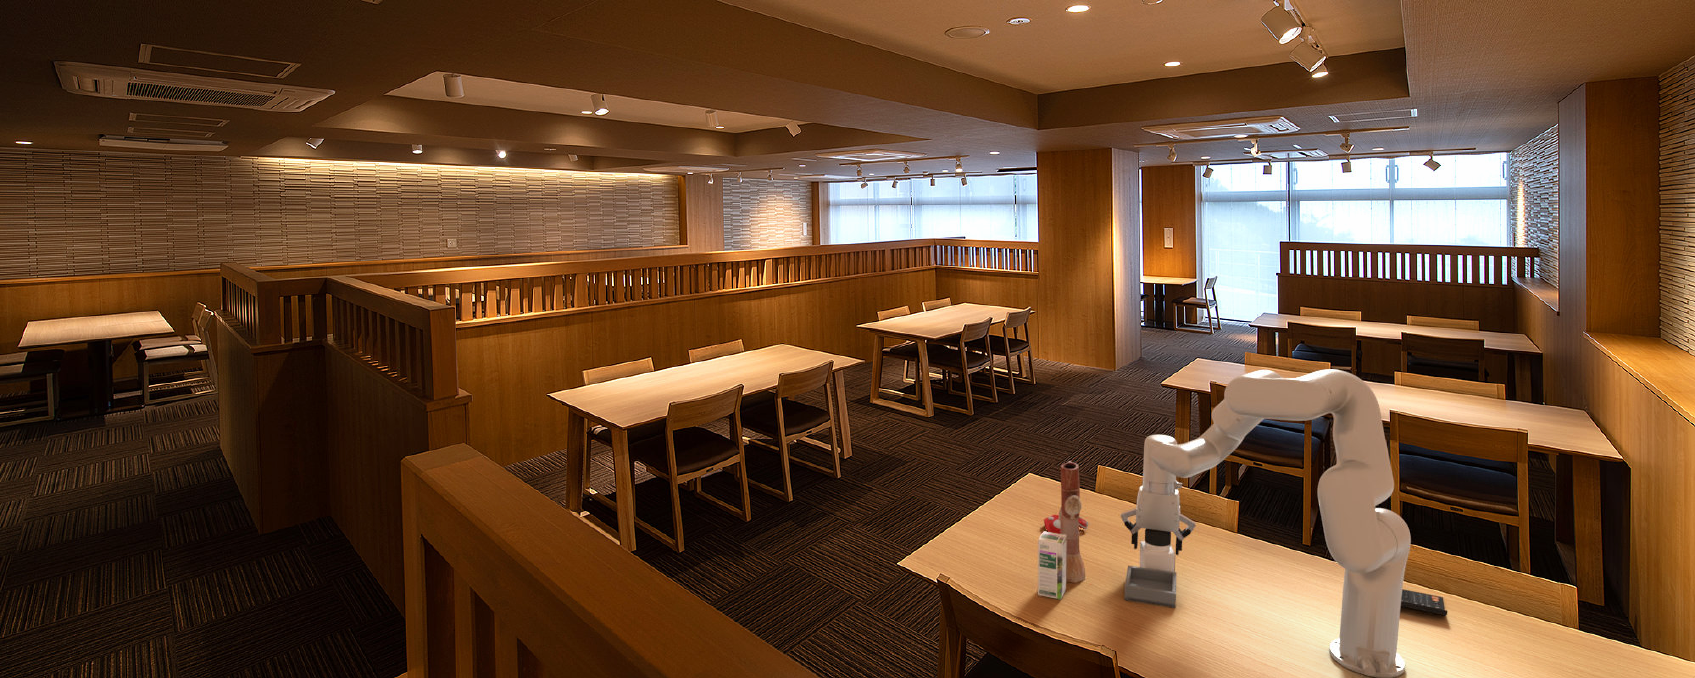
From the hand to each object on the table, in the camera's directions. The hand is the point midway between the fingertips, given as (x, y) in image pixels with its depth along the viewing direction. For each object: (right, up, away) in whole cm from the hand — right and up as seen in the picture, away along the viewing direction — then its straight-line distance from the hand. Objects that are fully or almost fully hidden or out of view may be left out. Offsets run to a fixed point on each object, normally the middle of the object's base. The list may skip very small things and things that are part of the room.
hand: (1156, 549), depth 192 cm
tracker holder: (-15, -3, +28) cm, 32 cm away
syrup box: (-28, -9, -6) cm, 30 cm away
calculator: (+52, -8, -18) cm, 56 cm away
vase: (-21, -7, +1) cm, 23 cm away
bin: (-5, -8, -8) cm, 12 cm away
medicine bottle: (0, -7, +1) cm, 7 cm away
